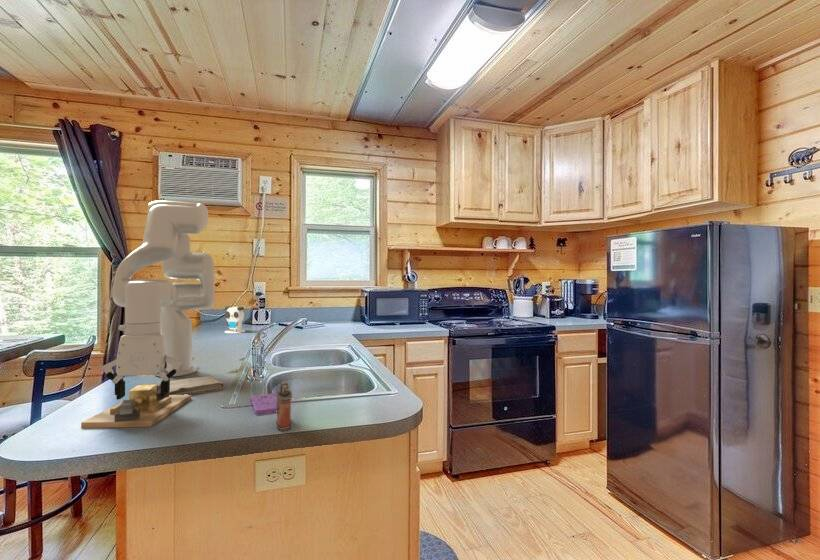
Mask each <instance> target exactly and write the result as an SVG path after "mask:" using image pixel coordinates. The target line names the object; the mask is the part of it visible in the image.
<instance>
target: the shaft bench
mask: <svg viewBox="0 0 820 560" xmlns="http://www.w3.org/2000/svg"><path fill="white" fill-rule="evenodd" d="M161 382H162V381H156V382H155V383H153V384H151V385H154V384H157V403H156V404H154V405H153V406H151V407H149V408H148V410H140V408H138V409H135V399H130V400H129V397H128V398H127V399H124V400H122V401H121V402H119V403H117V404H114V405H113V406H111V407H108V408H107V409H106V410H103V411H101V412H100V413H98V414H96V415H94V416H90V418H87V419H86V420H83V421H82V422H81V423H80V428H81V429H87V428H88V429H90V428H93V429H95V428H101V429H102V428H146V427H148V428H149V427H151V428H152V427H153V426H155V424H158V422H160V421H161V420H163V419H164V418H166V417H168V415H170V414H172V413H174V412H175V411H176V410H177V409H179V408H180V407H181V406H183V405H184V403H185V404H186V403H187V402H189V401H190V400H191V399H192V394H190V395H169V392H168V393H167V395H166V396H164V397H161Z"/></svg>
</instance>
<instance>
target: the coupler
mask: <svg viewBox="0 0 820 560" xmlns="http://www.w3.org/2000/svg"><path fill="white" fill-rule="evenodd" d="M153 384H154V383H153ZM128 391H129V392H128V398H129V400H130V399H135V409H138V408H140V410H148V408H149V407H151V406H153V405H154V404H156V403H157V384H154V385H152V384H139V385H136V386H135V387H133V388H132V389H130V390H128Z"/></svg>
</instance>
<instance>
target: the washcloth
mask: <svg viewBox="0 0 820 560" xmlns="http://www.w3.org/2000/svg"><path fill="white" fill-rule="evenodd" d="M224 387H225V384H224V382H222V381H220V380H218V379H217V378H216V377H214V376H212V375H205V376H198V377H189V378H188V377H187V378H181V379H175V380H170V391H169V395H184V394H190V395H193V394H192V393H196V394H201V392H202V393H206V391H208V392H212V391H213V390H214V391H218V390H219V391H220V390H222V389H223V388H224Z"/></svg>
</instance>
